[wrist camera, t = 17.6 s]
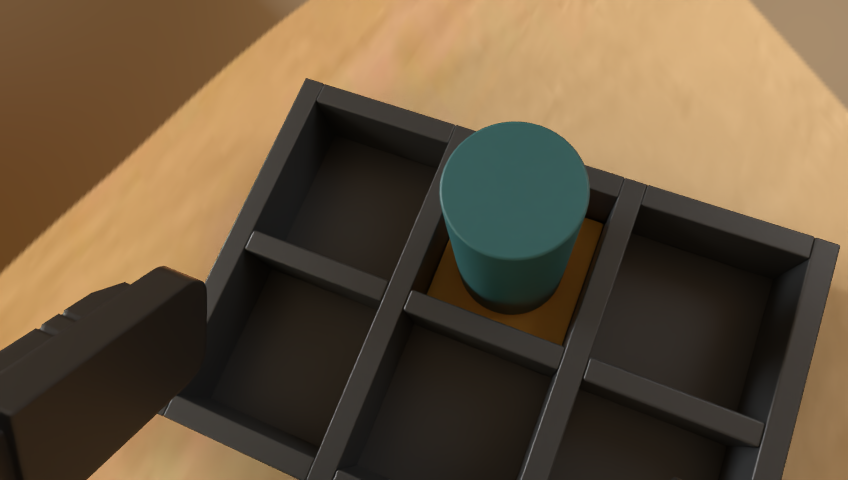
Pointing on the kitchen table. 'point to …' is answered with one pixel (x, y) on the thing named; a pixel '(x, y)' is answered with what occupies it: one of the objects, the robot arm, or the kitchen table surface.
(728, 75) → the kitchen table surface
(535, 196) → the cylinder
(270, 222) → the grid
